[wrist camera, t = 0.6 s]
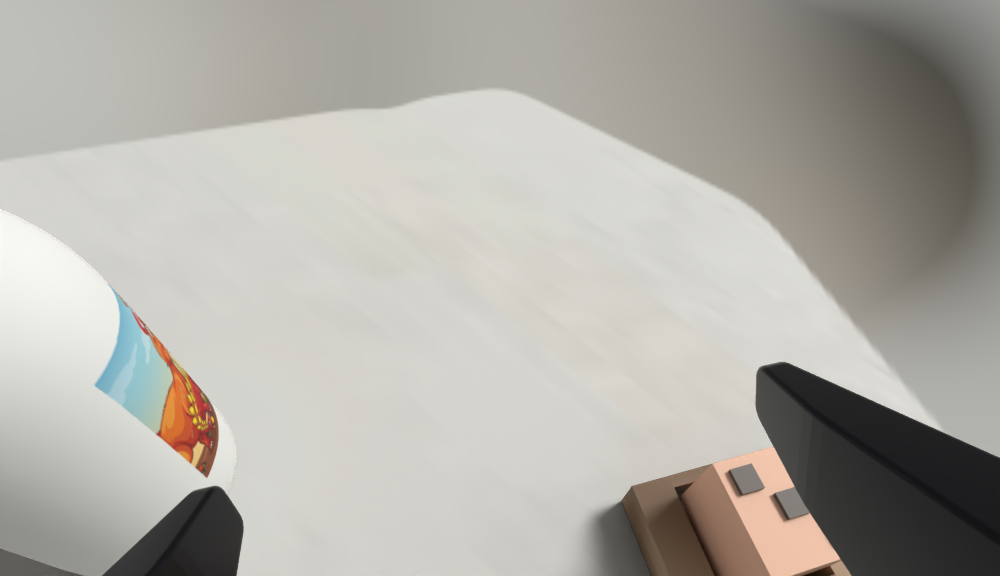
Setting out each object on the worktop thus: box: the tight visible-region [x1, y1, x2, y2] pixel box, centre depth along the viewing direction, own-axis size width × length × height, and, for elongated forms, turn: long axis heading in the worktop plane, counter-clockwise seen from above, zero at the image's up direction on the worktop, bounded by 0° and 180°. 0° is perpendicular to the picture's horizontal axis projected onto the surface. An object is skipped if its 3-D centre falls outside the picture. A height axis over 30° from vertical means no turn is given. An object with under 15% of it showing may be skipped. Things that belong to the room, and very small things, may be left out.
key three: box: [680, 447, 841, 576], centre depth 21 cm, size 4×4×4 cm
